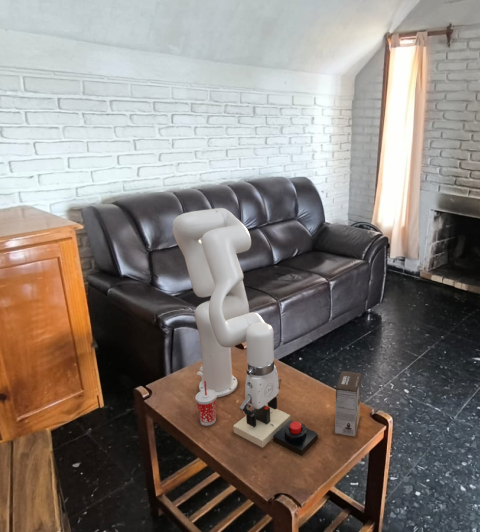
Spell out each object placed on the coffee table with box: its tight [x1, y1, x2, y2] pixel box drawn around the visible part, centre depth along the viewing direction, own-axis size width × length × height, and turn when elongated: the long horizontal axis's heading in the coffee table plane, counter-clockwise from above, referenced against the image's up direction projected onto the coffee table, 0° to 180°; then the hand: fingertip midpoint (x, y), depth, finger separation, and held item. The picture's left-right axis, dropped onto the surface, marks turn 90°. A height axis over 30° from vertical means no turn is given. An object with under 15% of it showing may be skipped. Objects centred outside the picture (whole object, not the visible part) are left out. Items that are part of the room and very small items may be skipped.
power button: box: [290, 421, 302, 434], centre depth 124 cm, size 3×3×2 cm
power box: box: [272, 419, 319, 457], centre depth 125 cm, size 10×8×4 cm
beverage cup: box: [195, 381, 218, 427], centre depth 130 cm, size 6×6×14 cm
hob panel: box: [232, 403, 291, 448], centre depth 130 cm, size 11×13×3 cm
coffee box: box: [334, 370, 363, 437], centre depth 130 cm, size 9×6×16 cm
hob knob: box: [255, 405, 270, 424], centre depth 129 cm, size 5×2×5 cm, turn 58°
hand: (262, 415), depth 129 cm, fingers open, 8 cm apart
